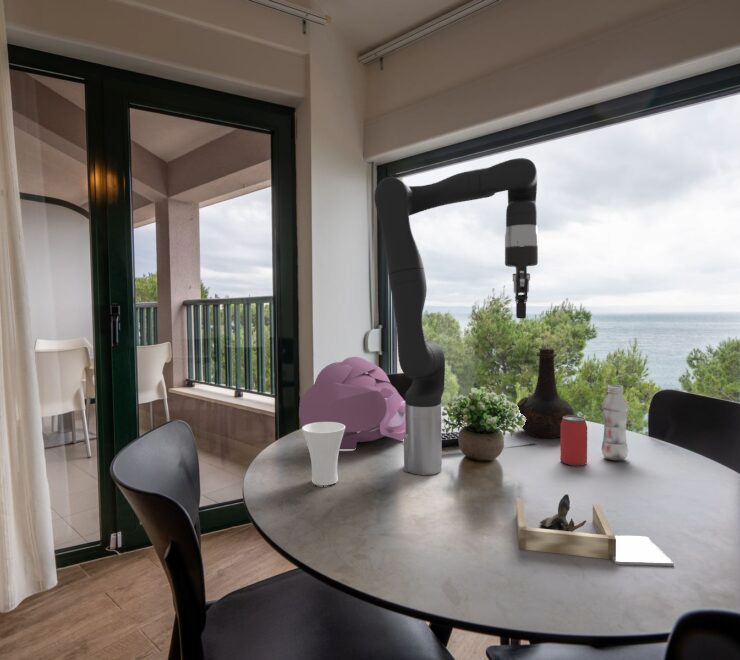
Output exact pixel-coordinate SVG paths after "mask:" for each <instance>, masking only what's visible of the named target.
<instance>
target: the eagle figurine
mask: <svg viewBox="0 0 740 660" xmlns="http://www.w3.org/2000/svg"><path fill="white" fill-rule="evenodd" d="M570 501H571V500H570V497H569V494H566V493H565V494H564V495H563V496H562V498H561V499H560V500H559V503H558V507H557V513H556V514H554V515H553V516H551V517H546V518H544V519H542V520H541V521H540V522H539V524H541V525H542V526H543V527H546V528H548V527H550V526H554V527H555V528H556V530H560V531H570V532H575V531H576V530H577V529H579V528H581V527H583V526H584V525H585V524H586V522H587V520H583V521H581V522H580V523H578V524H577V525H575V521H574V520H573V518H572V517H571V518H570V521H569V522H568V521H567V515H568V512H569V511H570V508H571V507H570V503H571V502H570Z"/></svg>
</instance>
